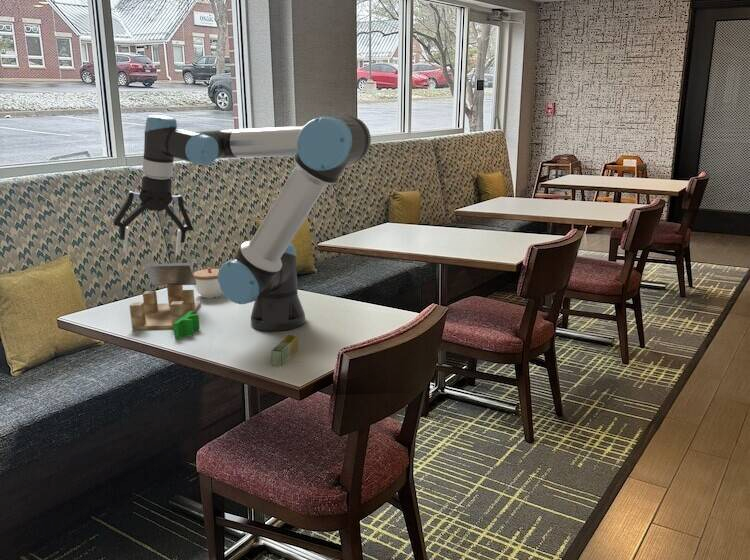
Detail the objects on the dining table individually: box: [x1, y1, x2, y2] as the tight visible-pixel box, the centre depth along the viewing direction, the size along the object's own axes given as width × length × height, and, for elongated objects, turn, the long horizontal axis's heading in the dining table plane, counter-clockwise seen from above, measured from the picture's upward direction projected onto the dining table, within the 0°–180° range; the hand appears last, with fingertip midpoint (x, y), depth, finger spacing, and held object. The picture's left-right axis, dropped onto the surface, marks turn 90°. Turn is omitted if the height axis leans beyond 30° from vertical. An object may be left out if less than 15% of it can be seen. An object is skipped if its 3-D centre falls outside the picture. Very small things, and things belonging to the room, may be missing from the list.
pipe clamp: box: [173, 311, 201, 340], centre depth 185 cm, size 11×4×5 cm, turn 173°
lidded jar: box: [193, 266, 223, 299], centre depth 220 cm, size 11×11×9 cm
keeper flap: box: [144, 262, 196, 287], centre depth 203 cm, size 13×9×1 cm
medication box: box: [270, 334, 299, 367], centre depth 165 cm, size 12×3×4 cm, turn 168°
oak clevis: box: [129, 285, 201, 330], centre depth 198 cm, size 14×22×7 cm, turn 2°
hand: (151, 252), depth 185 cm, fingers open, 13 cm apart
